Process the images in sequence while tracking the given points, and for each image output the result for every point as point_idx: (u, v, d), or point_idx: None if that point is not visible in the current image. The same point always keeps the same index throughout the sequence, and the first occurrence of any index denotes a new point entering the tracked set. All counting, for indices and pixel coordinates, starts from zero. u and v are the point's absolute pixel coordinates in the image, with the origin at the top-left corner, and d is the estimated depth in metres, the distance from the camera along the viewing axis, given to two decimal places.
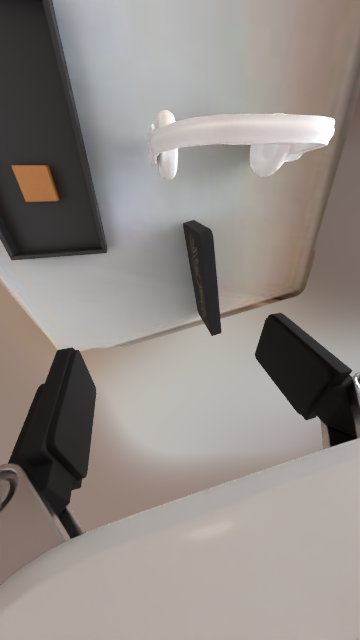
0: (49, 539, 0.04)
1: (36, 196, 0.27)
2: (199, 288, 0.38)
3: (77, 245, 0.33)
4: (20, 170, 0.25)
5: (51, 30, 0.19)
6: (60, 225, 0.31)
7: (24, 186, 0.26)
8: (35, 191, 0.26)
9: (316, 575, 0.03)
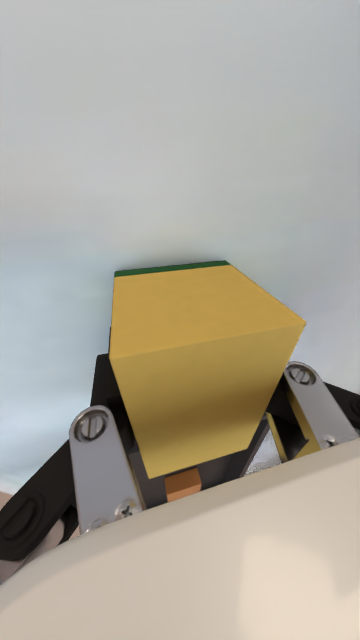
0: (124, 480, 0.05)
1: None
2: None
3: None
4: (174, 494, 0.21)
5: (264, 432, 0.16)
6: None
7: (172, 499, 0.22)
8: (181, 497, 0.23)
9: (316, 575, 0.03)
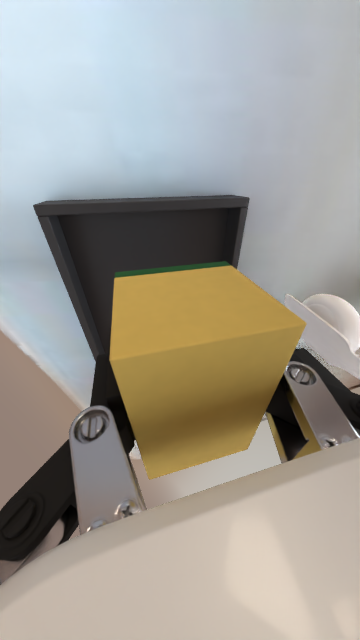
0: (124, 480, 0.05)
1: None
2: None
3: None
4: None
5: (237, 240, 0.16)
6: None
7: None
8: None
9: (316, 575, 0.03)
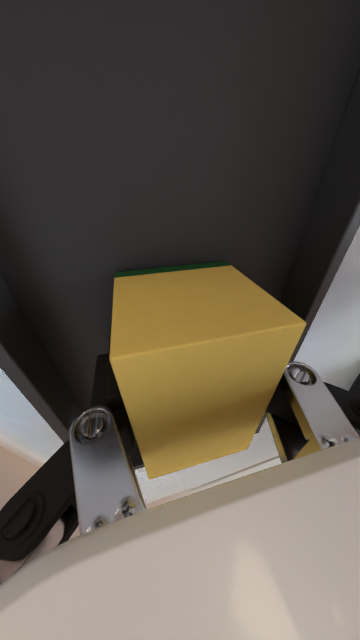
0: (124, 480, 0.05)
1: None
2: None
3: None
4: None
5: None
6: None
7: None
8: None
9: (316, 575, 0.03)
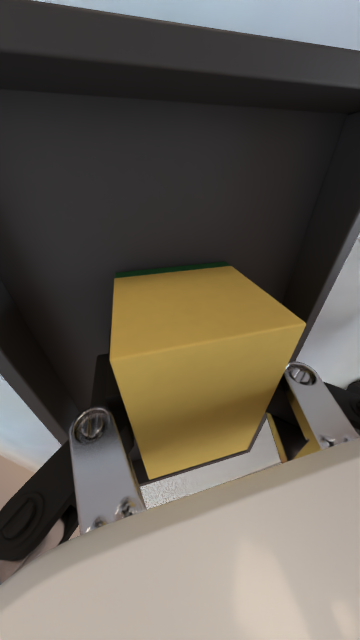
0: (124, 480, 0.05)
1: None
2: None
3: None
4: None
5: None
6: None
7: None
8: None
9: (316, 575, 0.03)
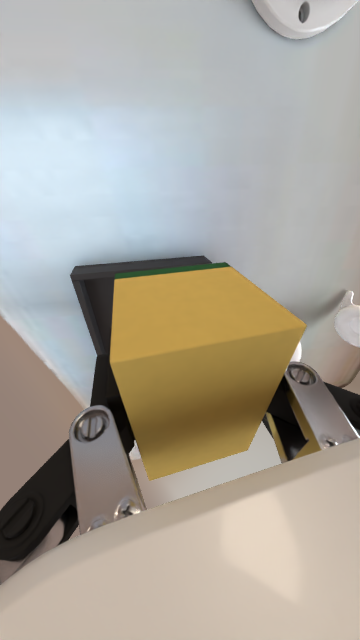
0: (124, 480, 0.05)
1: None
2: None
3: None
4: None
5: None
6: None
7: None
8: None
9: (316, 575, 0.03)
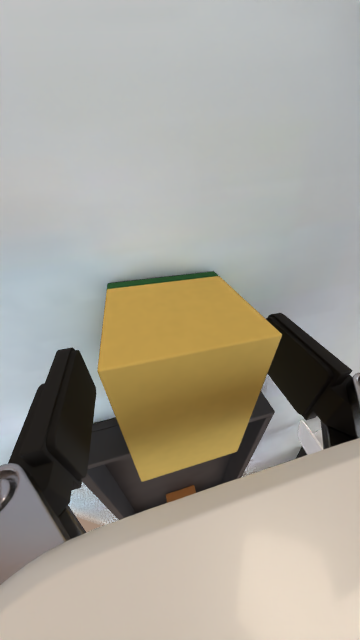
0: (49, 539, 0.04)
1: None
2: None
3: (196, 492, 0.29)
4: None
5: (261, 432, 0.16)
6: None
7: None
8: None
9: (316, 575, 0.03)
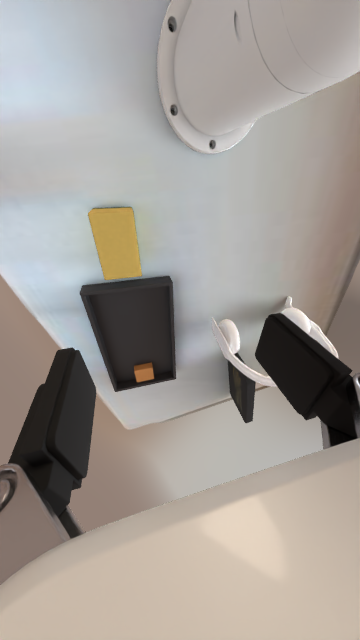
0: (49, 539, 0.04)
1: (143, 379, 0.44)
2: (237, 391, 0.52)
3: (155, 373, 0.46)
4: (138, 372, 0.42)
5: (170, 298, 0.33)
6: None
7: (138, 377, 0.43)
8: (143, 377, 0.44)
9: (316, 575, 0.03)
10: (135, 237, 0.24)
